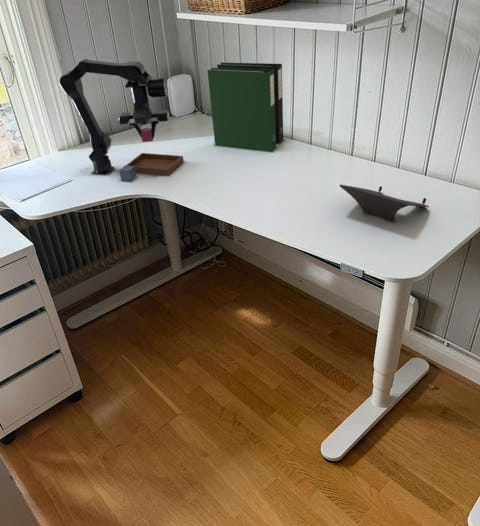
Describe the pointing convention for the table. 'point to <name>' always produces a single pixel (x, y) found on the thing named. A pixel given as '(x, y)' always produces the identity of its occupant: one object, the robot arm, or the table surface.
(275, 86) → the binder
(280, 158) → the table surface
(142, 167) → the tray
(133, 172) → the slate block
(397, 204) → the laptop tray
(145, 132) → the mulberry block
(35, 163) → the table surface
